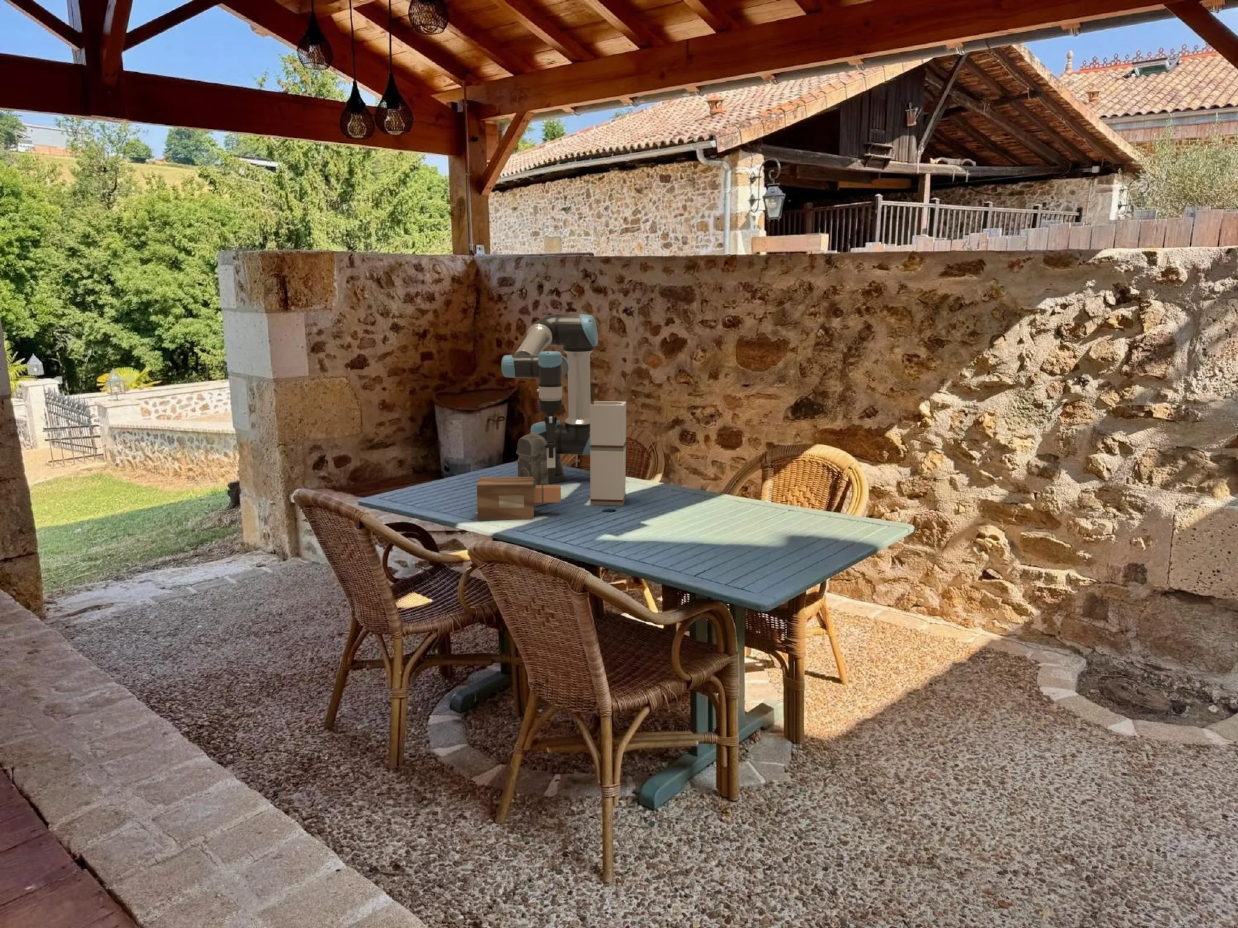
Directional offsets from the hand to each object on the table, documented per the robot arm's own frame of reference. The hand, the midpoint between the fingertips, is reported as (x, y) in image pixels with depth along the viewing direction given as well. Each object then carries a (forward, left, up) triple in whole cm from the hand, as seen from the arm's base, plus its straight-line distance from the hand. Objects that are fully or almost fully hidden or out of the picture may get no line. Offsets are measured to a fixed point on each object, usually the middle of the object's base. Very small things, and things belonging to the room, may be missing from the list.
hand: (551, 463), depth 271 cm
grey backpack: (-17, -6, -17) cm, 25 cm away
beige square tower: (-16, +20, -17) cm, 31 cm away
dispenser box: (0, -15, -17) cm, 23 cm away
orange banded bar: (0, -9, -13) cm, 16 cm away
